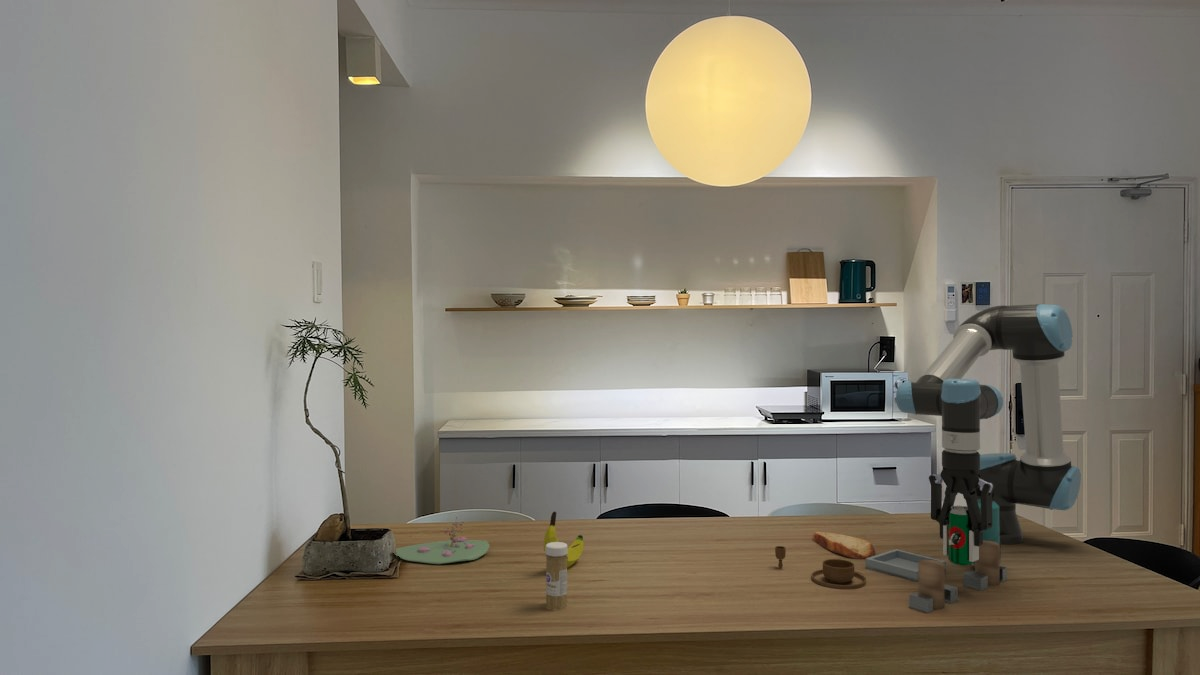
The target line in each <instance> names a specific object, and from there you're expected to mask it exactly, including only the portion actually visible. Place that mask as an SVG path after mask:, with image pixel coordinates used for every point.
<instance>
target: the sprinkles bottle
mask: <svg viewBox="0 0 1200 675" xmlns="http://www.w3.org/2000/svg"><path fill="white" fill-rule="evenodd" d="M568 548H569V547H568V544H567V543H565V542H561V541H559V542H551V543H548V544H546V549H545V551H544V553H545V556H546V565H545V568H546V573H545V574H546V575H545V594H546V596H545V597H546V598H545V599H546V600H545V601H546V602H545V609H547V610H548V611H552V612H554V611H557V612H559V611H563V610H566V609H567V608H568V604H567V602H568V601H567V600H568V597H567V596H568V595H567V594H568V568H567V553H568Z"/></svg>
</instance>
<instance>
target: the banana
mask: <svg viewBox="0 0 1200 675" xmlns="http://www.w3.org/2000/svg"><path fill="white" fill-rule="evenodd" d="M556 518H557V511H553V512H552V514H551V516H550V522H549V526H548V528H547V529H546V532H545V535H544V540H543V551H544V552H545V549H546V544H548V543H551V542H560V541H559V539H558V538H557V534H556V522H557V521H556ZM584 545H585V544H584V538H583V535H582V534H579V535H577V537H576V538H575V540H574V541H573V542H572V544H571V545H570V546H569V547H567V548H568V553H567V569H568V568H570V567H572V566H573V565H574V564H575V563H576V562H577V561H578V560H579V559H580V558H581V557H580V556H582V554H583V550H584Z"/></svg>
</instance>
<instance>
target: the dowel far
mask: <svg viewBox="0 0 1200 675" xmlns="http://www.w3.org/2000/svg"><path fill="white" fill-rule="evenodd" d="M1000 559H1001V558H1000V544H998V543H996V542H992V541H985V540H983V544H982V545H981V546H979V560H976V561H975V565H974V572H976V573H980V574H984V575H988V586H995V587H996V586H999V585H1000V582H1001V581H1000V566H1001V565H1000V564H1001V560H1000Z"/></svg>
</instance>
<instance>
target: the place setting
mask: <svg viewBox="0 0 1200 675" xmlns="http://www.w3.org/2000/svg"><path fill="white" fill-rule="evenodd" d="M774 549H775V550H774V553H775V558H776V559H778V569H779V570H781V569H783V566H784V565H783V560H784V559H785V558H786V553H787V550H786V547H785V546H784V545H783V546H781V545H777V546H775V547H774ZM820 575H823V576H824V578H826V579H827V580H828V581H830V582H831V583H829V582H824V581H821V580H820V579H817V578H815V577H817V576H820ZM810 576H811V580H812V581H813V582H814V583H815V584H817V585H819V586H822V587H825V588H830V589H838V590H855V589H859V588H862V587H864V586H865V585H866V583H867V578H866V577H865V574H864V573H862V572H859V571H856V570H855V564H854V563H853V562H852V561H850V560H846V559H841V558H830V559H825V560H823V561H822V569H819V570H818V569H816V571H813V572H812V573H811V575H810ZM854 578H857V579H859V580H861V581H862V582H860V583H854V584H847V583H849V582H850V581H852V580H853V579H854Z"/></svg>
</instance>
